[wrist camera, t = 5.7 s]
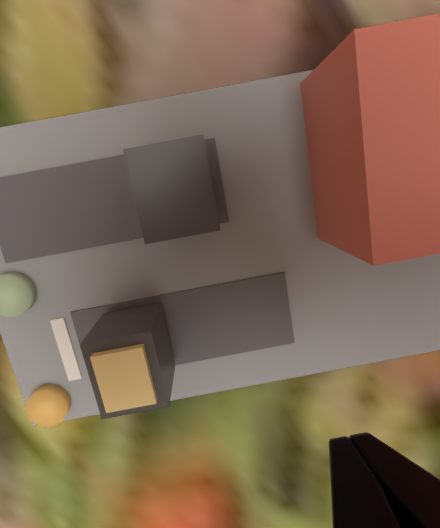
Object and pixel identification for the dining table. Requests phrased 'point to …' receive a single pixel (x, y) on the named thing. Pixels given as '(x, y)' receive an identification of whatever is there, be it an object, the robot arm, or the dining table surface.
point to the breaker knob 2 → (130, 361)
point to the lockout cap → (377, 141)
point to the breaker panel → (190, 254)
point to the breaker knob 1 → (172, 189)
